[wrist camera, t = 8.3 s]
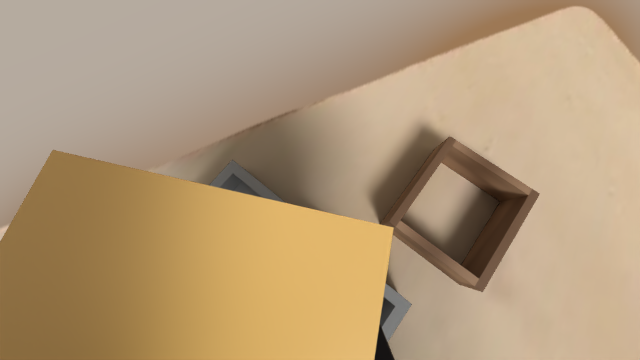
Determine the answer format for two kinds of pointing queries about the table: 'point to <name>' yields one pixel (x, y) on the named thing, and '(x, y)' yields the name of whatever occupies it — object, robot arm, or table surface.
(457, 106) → the table surface
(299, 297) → the amber block
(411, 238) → the frame
